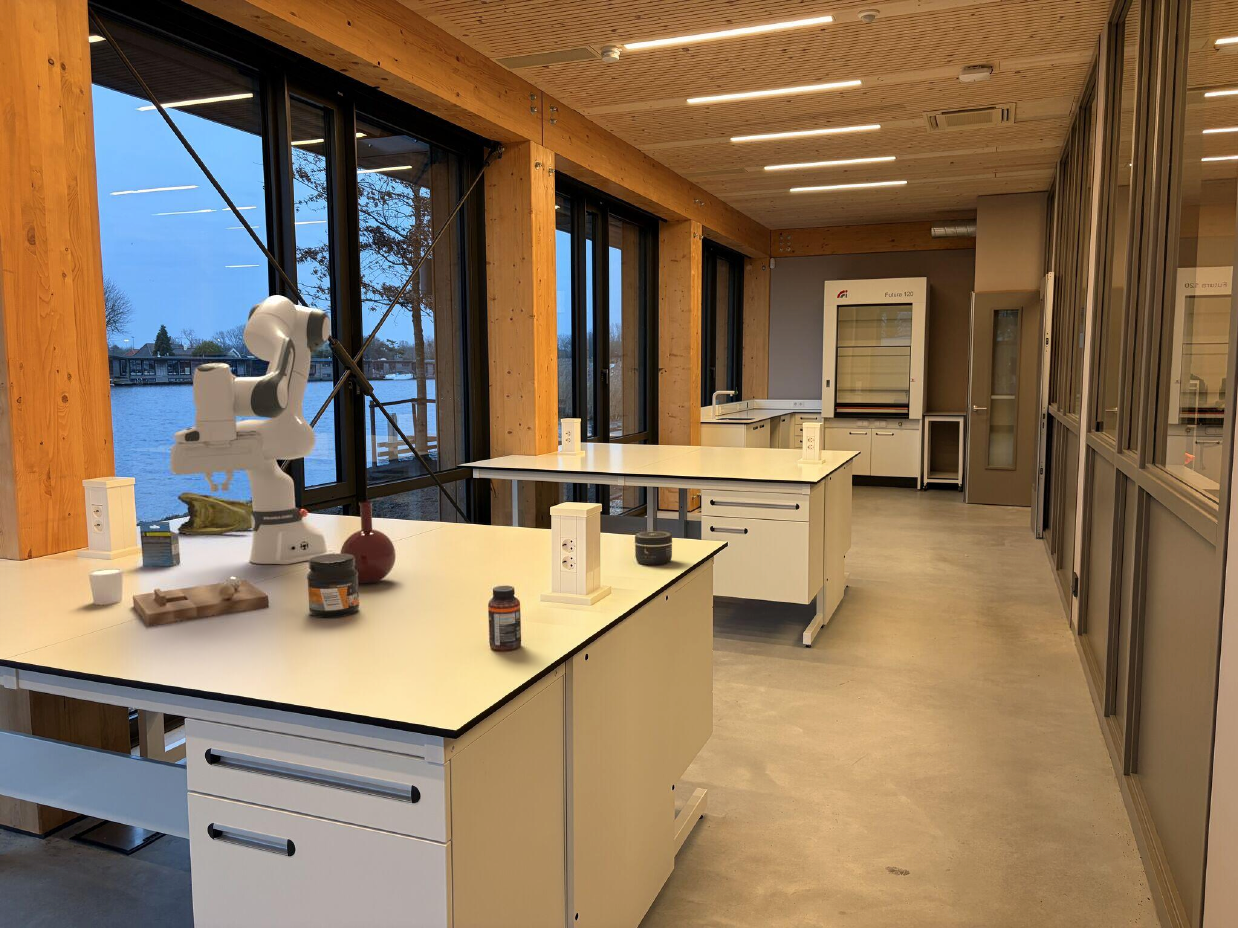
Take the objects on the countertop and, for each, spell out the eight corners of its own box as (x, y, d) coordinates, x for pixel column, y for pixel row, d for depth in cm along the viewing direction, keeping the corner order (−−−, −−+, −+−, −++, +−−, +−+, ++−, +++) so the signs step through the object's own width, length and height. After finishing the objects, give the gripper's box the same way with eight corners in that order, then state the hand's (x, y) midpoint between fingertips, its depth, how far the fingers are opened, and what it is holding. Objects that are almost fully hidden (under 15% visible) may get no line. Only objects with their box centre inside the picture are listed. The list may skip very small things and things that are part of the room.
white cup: (132, 598, 208) (129, 569, 207) (106, 606, 202) (104, 575, 201) (109, 596, 210) (107, 567, 210) (83, 604, 204) (81, 573, 203)
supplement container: (331, 621, 186) (328, 564, 185) (298, 614, 192) (295, 559, 191) (370, 609, 195) (367, 555, 194) (337, 603, 201) (334, 551, 200)
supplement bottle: (490, 642, 170) (488, 584, 169) (521, 641, 171) (520, 583, 169) (488, 652, 164) (486, 592, 163) (521, 651, 165) (519, 591, 163)
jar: (629, 565, 236) (629, 536, 235) (642, 557, 245) (642, 530, 244) (665, 567, 232) (665, 538, 231) (677, 559, 241) (677, 531, 241)
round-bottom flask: (407, 579, 224) (404, 499, 222) (372, 591, 212) (368, 507, 210) (366, 574, 229) (362, 497, 227) (329, 586, 217) (325, 504, 215)
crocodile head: (157, 522, 285) (172, 484, 294) (186, 550, 298) (200, 513, 307) (236, 514, 281) (249, 476, 290) (262, 543, 294) (273, 505, 303)
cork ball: (233, 596, 198) (232, 582, 198) (236, 599, 196) (235, 585, 195) (217, 598, 196) (216, 584, 196) (221, 601, 194) (220, 587, 193)
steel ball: (239, 588, 206) (238, 574, 206) (242, 590, 203) (241, 577, 203) (224, 590, 204) (223, 576, 204) (227, 593, 202) (226, 579, 201)
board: (245, 589, 215) (244, 571, 215) (268, 606, 199) (267, 586, 199) (133, 606, 201) (132, 586, 201) (148, 626, 185) (146, 604, 184)
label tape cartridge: (181, 563, 246) (178, 519, 245) (172, 566, 242) (169, 521, 241) (150, 563, 247) (147, 519, 246) (141, 566, 243) (138, 521, 242)
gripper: (258, 429, 219) (262, 485, 220) (166, 434, 207) (170, 493, 208) (265, 430, 214) (269, 488, 215) (171, 435, 202) (175, 496, 203)
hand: (220, 490), depth 212 cm, fingers closed
